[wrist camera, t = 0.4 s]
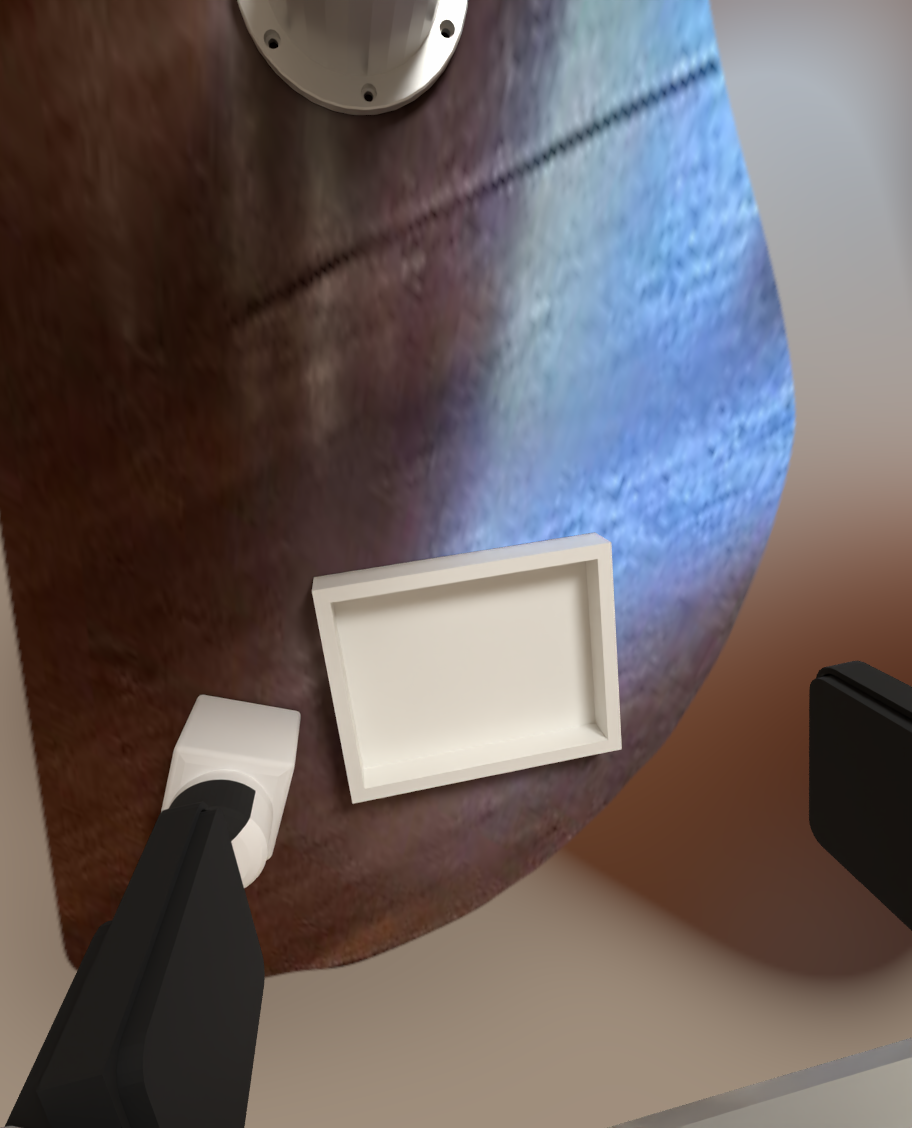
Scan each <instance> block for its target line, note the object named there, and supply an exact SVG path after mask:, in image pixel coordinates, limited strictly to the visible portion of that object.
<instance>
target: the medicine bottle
mask: <svg viewBox="0 0 912 1128" xmlns="http://www.w3.org/2000/svg"><path fill="white" fill-rule="evenodd" d="M300 718H301V715H300V713H299V712H298V711H294V710H288V709H283V708H277V707H271V706H265V705H260V704H254V703H248V702H243V701H237V700H231V699H225V698H220V697H214V696H208V695H200V696H199V697H198V698H197V700H196V702H195V704H194V706H193V709H192V711H191V713H190V715H189V717H188V720H187V722H186V724H185V726H184V728H183V730H182V733H181V735H180V737H179V739H178V741H177V744H176V746H175V748H174V752H173V757H172V761H171V766H170V771H169V776H168V781H167V785H166V790H165V795H164V800H163V805H162V809H161V812H162V811H163V810H165V809H170V808H175V807H179V806H184V805H189V804H193V803H198V802H202V801H204V802H205V803H206V804H207V805H208V807H209V809H210V810H214V809H218V808H219V809H221V810H222V812H223V814H224V817H225V821H226V824H227V828H228V832H229V835H230V839H231V843H232V846H233V850H234V854H235V857H236V861H237V864H238V868H239V872H240V875H241V879H242V883H243V886H244V888H246V887H247V886H249V885H250V884H251V883H252V882H253V881H254V880H255V879H256V878H257V877H258V876H259V874H260V873H261V871H262V870H263V867H264V865H265V862H266V860H268V859H269V858H270V857H271V855H272V853H273V849H274V845H275V841H276V837H277V834H278V830H279V826H280V822H281V818H282V814H283V810H284V806H285V802H286V798H287V794H288V790H289V787H290V783H291V779H292V775H293V771H294V766H295V758H296V750H297V742H298V734H299V726H300Z"/></svg>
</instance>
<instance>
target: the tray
mask: <svg viewBox="0 0 912 1128" xmlns="http://www.w3.org/2000/svg"><path fill="white" fill-rule="evenodd" d="M312 595H313V600H314V605H315V611H316V616H317V621H318V626H319V631H320V637H321V642H322V647H323V652H324V657H325V663H326V668H327V673H328V678H329V683H330V689H331V694H332V699H333V704H334V710H335V715H336V720H337V725H338V730H339V736H340V741H341V746H342V751H343V756H344V762H345V767H346V772H347V777H348V782H349V788H350V793H351V798H352V803H353V804H354V803H359V802H364V801H369V800H374V799H379V798H384V797H388V796H393V795H398V794H403V793H408V792H413V791H418V790H423V789H428V788H433V787H438V786H443V785H448V784H452V783H457V782H462V781H467V780H472V779H477V778H482V777H487V776H492V775H497V774H502V773H507V772H512V771H516V770H521V769H526V768H531V767H536V766H541V765H546V764H551V763H556V762H561V761H566V760H571V759H576V758H580V757H585V756H590V755H595V754H600V753H605V752H610V751H615V750H620V749H622V747H621V727H620V707H619V688H618V668H617V648H616V629H615V609H614V589H613V570H612V550H611V542H610V541H608V540H606V539H605V538H603V537H601V536H600V535H598V534H597V533H588V534H582V535H576V536H570V537H563V538H557V539H551V540H545V541H538V542H532V543H526V544H519V545H513V546H507V547H501V548H494V549H488V550H482V551H476V552H469V553H463V554H457V555H450V556H444V557H438V558H432V559H425V560H419V561H413V562H406V563H400V564H394V565H388V566H381V567H375V568H369V569H363V570H356V571H350V572H344V573H337V574H331V575H325V576H319V577H314V579H313V586H312Z"/></svg>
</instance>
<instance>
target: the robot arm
mask: <svg viewBox="0 0 912 1128" xmlns="http://www.w3.org/2000/svg"><path fill="white" fill-rule="evenodd" d="M237 2H238V5H239V8H240V11H241V14H242V17H243V19H244V22H245V25H246V28H247V30H248V32H249V34H250V35H251V37H252V39H253V41H254V43H255V45H256V47H257V49H258V50H259V52H260V53H261V55H262V56H263V57H264V59H265V60H266V61H267V63H268V64H269V65H270V67H271V68H272V69H273V71H274V72H275V73H276V74H277V75H278V76H279V77H280V78H281V79H283V80H284V81H285V82H286V83H287V84H288V85H289V86H290V87H291V88H292V89H293V90H295V91H296V92H298V93H299V94H301V95H302V96H304V97H305V98H307V99H308V100H310V101H311V102H313V103H316V104H318V105H320V106H323V107H325V108H328V109H330V110H332V111H336V112H341V113H346V114H351V115H377V114H381V113H385V112H389V111H393V110H397V109H399V108H401V107H403V106H405V105H407V104H409V103H411V102H413V101H414V100H416V99H417V98H418V97H419V96H421V95H422V94H423V93H424V92H426V91H427V90H428V89H429V88H431V86H432V85H433V84H434V83H435V82H436V80H437V79H438V78H439V77H440V75H441V74H442V73H443V72H444V70H445V69H446V67H447V65H448V63H449V61H450V59H451V57H452V56H453V54H454V52H455V50H456V47H457V44H458V42H459V39H460V36H461V33H462V30H463V25H464V21H465V17H466V12H467V8H468V0H237ZM443 32H445V33H447V34H448V35H449V38H444V37H443V36H442V35H441V33H443ZM272 42H274V43H276V44H278V48H275V49H271V48H269V45H270V43H272ZM367 94H369V95H371V96H372V98H373V100H372V101H371V102H368V101H366V100H365V99H364V96H365V95H367ZM809 704H810V705H809V706H810V707H809V708H810V709H809V718H810V720H809V721H810V722H809V727H810V728H809V736H810V737H809V821H810V826H811V830H812V832H813V834H814V836H815V838H816V839H817V841H818V842H819V843H820V844H821V846H822V847H823V848H825V849H826V850H827V851H828V852H829V853H830V854H831V855H832V856H833V857H834V858H835V859H836V860H837V861H838V862H839V863H840V864H842V866H844V867H845V868H846V869H847V870H848V871H849V872H850V873H851V874H852V875H853V876H854V877H855V878H856V879H857V880H858V881H859V882H861V883H862V884H863V885H864V886H865V887H866V888H867V889H868V890H869V891H870V892H871V893H872V894H874V896H875V897H877V898H878V899H879V900H880V901H881V902H882V903H883V904H884V905H885V906H886V907H887V908H888V909H889V910H891V912H892V913H894V914H895V915H896V916H897V917H898V918H899V919H900V920H901V921H902V922H903V923H904V924H905V925H906V926H907V927H909V928H910V929H911V930H912V687H911V686H909V685H907V684H905V683H903V682H901V681H899V680H897V679H895V678H893V677H891V676H889V675H888V674H885V673H884V672H882V671H880V670H878V669H876V668H874V667H872V666H870V665H868V664H866V663H864V662H860V661H852V662H847V663H843V664H838V665H834V666H829V667H824V668H822V669H821V670H819V672H818V674H817V677H816V679H814V680H813V681H812V682H811V684H810V703H809ZM263 989H264V962H263V956H262V952H261V948H260V945H259V941H258V937H257V934H256V930H255V926H254V923H253V919H252V915H251V912H250V908H249V904H248V901H247V897H246V894H245V890H244V886H243V883H242V879H241V875H240V872H239V868H238V864H237V861H236V857H235V854H234V850H233V846H232V843H231V839H230V835H229V832H228V828H227V824H226V821H225V817H224V814H223V812H222V810H221V809H219V808H218V809H214V810H210V809H209V807H208V805H207V804H206V803H205V802H204V801H202V802H198V803H193V804H189V805H184V806H179V807H175V808H170V809H165V810H163V811H162V812H161V813H160V815H159V817H158V819H157V822H156V824H155V826H154V828H153V831H152V833H151V835H150V837H149V840H148V842H147V844H146V846H145V849H144V851H143V853H142V855H141V858H140V860H139V862H138V864H137V867H136V869H135V871H134V873H133V876H132V878H131V880H130V882H129V885H128V887H127V889H126V891H125V893H124V896H123V898H122V900H121V902H120V905H119V907H118V909H117V911H116V914H115V916H114V918H113V920H112V921H108V922H106V923H104V924H103V925H101V926H100V927H99V929H98V930H97V932H96V933H95V935H94V937H93V939H92V941H91V943H90V945H89V947H88V950H87V952H86V954H85V956H84V958H83V960H82V962H81V964H80V967H79V969H78V971H77V973H76V975H75V977H74V979H73V982H72V984H71V986H70V988H69V990H68V992H67V994H66V997H65V999H64V1001H63V1003H62V1005H61V1007H60V1009H59V1012H58V1014H57V1016H56V1018H55V1020H54V1022H53V1024H52V1027H51V1029H50V1031H49V1033H48V1035H47V1037H46V1040H45V1042H44V1044H43V1046H42V1048H41V1050H40V1052H39V1054H38V1057H37V1059H36V1061H35V1063H34V1065H33V1068H32V1070H31V1072H30V1074H29V1076H28V1078H27V1080H26V1082H25V1084H24V1086H23V1089H22V1091H21V1093H20V1095H19V1097H18V1099H17V1102H16V1104H15V1106H14V1108H13V1110H12V1112H11V1114H10V1116H9V1119H8V1121H7V1123H6V1125H5V1127H2V1128H244V1126H245V1118H246V1111H247V1103H248V1097H249V1090H250V1083H251V1075H252V1068H253V1061H254V1054H255V1046H256V1039H257V1031H258V1025H259V1017H260V1010H261V1003H262V996H263ZM609 1128H912V1038H909V1039H906V1040H902V1041H899V1042H896V1043H892V1044H889V1045H886V1046H882V1047H879V1048H875V1049H872V1050H869V1051H865V1052H862V1053H858V1054H855V1055H851V1056H848V1057H845V1058H841V1059H838V1060H834V1061H831V1062H828V1063H824V1064H821V1065H817V1066H814V1067H811V1068H807V1069H804V1070H800V1071H797V1072H794V1073H790V1074H787V1075H783V1076H780V1077H777V1078H773V1079H770V1080H766V1081H764V1082H760V1083H756V1084H753V1085H750V1086H746V1087H743V1088H739V1089H736V1090H733V1091H729V1092H726V1093H723V1094H719V1095H716V1096H712V1097H709V1098H706V1099H703V1100H699V1101H696V1102H692V1103H689V1104H686V1105H682V1106H679V1107H675V1108H672V1109H669V1110H665V1111H662V1112H659V1113H655V1114H652V1115H648V1116H645V1117H642V1118H639V1119H635V1120H632V1121H629V1122H625V1123H622V1124H619V1125H616V1126H612V1127H609Z"/></svg>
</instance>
